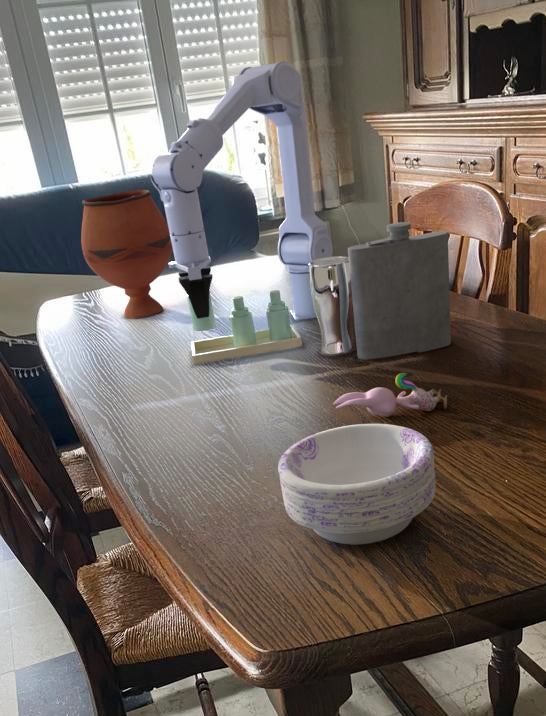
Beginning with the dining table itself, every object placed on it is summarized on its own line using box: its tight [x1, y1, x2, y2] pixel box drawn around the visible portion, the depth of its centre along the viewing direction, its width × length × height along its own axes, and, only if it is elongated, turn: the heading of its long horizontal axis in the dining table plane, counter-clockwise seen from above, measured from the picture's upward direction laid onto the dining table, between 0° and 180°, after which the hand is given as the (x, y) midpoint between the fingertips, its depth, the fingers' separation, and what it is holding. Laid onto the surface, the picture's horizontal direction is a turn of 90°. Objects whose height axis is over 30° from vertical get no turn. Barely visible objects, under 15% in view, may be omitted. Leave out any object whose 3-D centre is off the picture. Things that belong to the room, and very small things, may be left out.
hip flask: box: [347, 221, 452, 361], centre depth 117 cm, size 16×4×20 cm, turn 103°
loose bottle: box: [186, 290, 217, 332], centre depth 129 cm, size 4×4×9 cm
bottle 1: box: [229, 295, 257, 348], centre depth 132 cm, size 4×4×9 cm
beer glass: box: [309, 255, 357, 357], centre depth 123 cm, size 7×7×15 cm
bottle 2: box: [265, 289, 292, 342], centre depth 132 cm, size 4×4×9 cm
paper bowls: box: [277, 423, 436, 546], centre depth 74 cm, size 15×15×8 cm
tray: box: [190, 324, 303, 365], centre depth 134 cm, size 19×9×2 cm, turn 99°
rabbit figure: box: [333, 372, 448, 418], centre depth 98 cm, size 6×6×15 cm
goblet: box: [80, 189, 173, 319], centre depth 163 cm, size 19×19×25 cm
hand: (202, 314), depth 130 cm, fingers closed on loose bottle, 4 cm apart
